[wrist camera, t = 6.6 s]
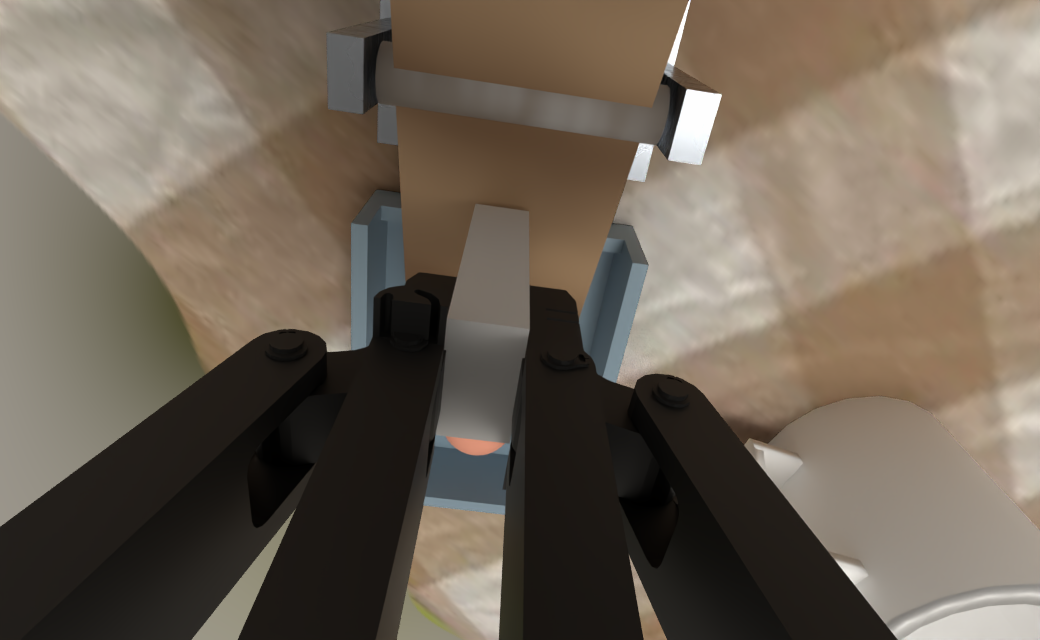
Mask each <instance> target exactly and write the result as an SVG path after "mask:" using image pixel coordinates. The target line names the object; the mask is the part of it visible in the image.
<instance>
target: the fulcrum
mask: <svg viewBox="0 0 1040 640" xmlns="http://www.w3.org/2000/svg"><path fill="white" fill-rule="evenodd" d="M690 1H691V0H689V2H688V5H687V8H686V11H685V14H684V16H683V19H682V22H681V25H680V28H679V31H678V34H677V37H676V40H675V42H674V45H673V48H672V51H671V54H670V57H669V60H668V63H667V66H666V68H665V71H664V74H663V77H662V80H661V83H660V84H662V85H668V86H669V88H670V104H669V111H668V116H667V120H666V124H665V128H664V131H663V133H662V136H661V138H660V140H659V142H658V143H657V144H656V145H657V146H658V148H659V149H660V150H661V152H662V153H663V154H664V156H665V157H666V158H667V160H670V161H677V162H683V163H690V164H697V165H701V163H702V159H703V156H704V153H705V149H706V146H707V143H708V139H709V136H710V132H711V129H712V126H713V122H714V119H715V116H716V112H717V109H718V106H719V102H720V99H721V96H722V95H721V94H720V93H718V92H716V91H715V90H713V89H711V88H710V87H708V86H706V85H705V84H703V83H701V82H700V81H698V80H696V79H695V78H693V77H691V76H690V75H688V74H686V73H684V72H683V71H681V70H679V69H678V68H676V67H674V64H675V60H676V56H677V52H678V48H679V44H680V40H681V36H682V32H683V28H684V24H685V20H686V16H687V12H688V8H689V4H690ZM382 41H388V42H392V27H391V9H390V0H380V20H376V21H372V22H367V23H363V24H359V25H355V26H351V27H347V28H343V29H339V30H335V31H331V32H327V81H328V109H331V110H337V111H344V112H351V113H357V114H364V113H365V112H367V111H368V110H369V109H371V108H372V107H373V106H374V105H376V104H377V103H378V131H377V142H378V143H385V144H391V145H398V136H397V118H396V106H391V105H385V104H380V103H379V102H378V100H377V95H376V84H375V75H376V62H377V55H378V50H379V47H380V44H381V42H382ZM653 146H654V145H649V144H642V143H640V144H639V146H638V149H637V152H636V155H635V158H634V161H633V164H632V167H631V170H630V172H629V175H628V178H627V179H628V180H635V181H642V182H645V178H646V174H647V170H648V166H649V162H650V158H651V154H652V150H653Z"/></svg>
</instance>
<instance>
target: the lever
mask: <svg viewBox="0 0 1040 640" xmlns="http://www.w3.org/2000/svg"><path fill="white" fill-rule="evenodd" d="M688 2H689V0H390V9H391V27H392V42H388V41H382V42H381V44H380V47H379V50H378V55H377V62H376V75H375V84H376V95H377V100H378V102H379V103H380V104H385V105H391V106H396V118H397V136H398V154H399V173H400V191H401V209H402V227H403V246H404V264H405V282H406V281H407V280H408V279H409V278H411V277H412V276H414V275H416V274H417V273H419V272H423V273H430V274H438V275H445V276H453V277H457V276H458V272H459V268H460V264H461V260H462V256H463V252H464V248H465V244H466V240H467V236H468V232H469V228H470V224H471V220H472V216H473V212H474V208H475V204H481V205H488V206H496V207H503V208H510V209H517V210H524V211H529V285H531V286H539V287H546V288H553V289H561V290H566V291H567V292H568V293H569V294H570V295H571V296H572V297H573V298H574V299H575V301H576V304H577V310H578V317H580V314H581V311H582V308H583V305H584V302H585V300H586V297H587V294H588V291H589V288H590V285H591V282H592V279H593V276H594V274H595V271H596V268H597V265H598V262H599V259H600V256H601V253H602V250H603V248H604V245H605V242H606V239H607V236H608V233H609V230H610V227H611V224H612V222H613V219H614V216H615V213H616V210H617V207H618V204H619V201H620V198H621V196H622V193H623V190H624V187H625V184H626V181H627V178H628V175H629V172H630V170H631V167H632V164H633V161H634V158H635V155H636V152H637V149H638V146H639V144H640V143H642V144H649V145H656V144H657V143H658V142H659V140H660V138H661V136H662V133H663V131H664V128H665V124H666V120H667V116H668V111H669V104H670V88H669V86H668V85H662V84H660V83H661V80H662V77H663V74H664V71H665V68H666V66H667V63H668V60H669V57H670V54H671V51H672V48H673V45H674V42H675V40H676V37H677V34H678V31H679V28H680V25H681V22H682V19H683V16H684V14H685V11H686V8H687V5H688Z"/></svg>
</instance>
